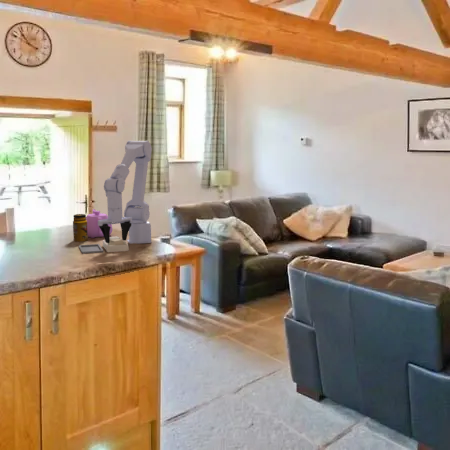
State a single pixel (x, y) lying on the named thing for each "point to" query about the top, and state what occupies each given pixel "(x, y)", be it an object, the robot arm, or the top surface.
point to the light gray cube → (114, 238)
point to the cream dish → (115, 247)
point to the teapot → (95, 224)
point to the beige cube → (116, 242)
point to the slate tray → (91, 248)
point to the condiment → (80, 228)
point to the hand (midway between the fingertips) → (116, 241)
